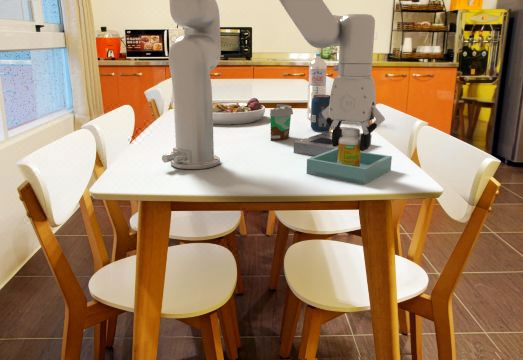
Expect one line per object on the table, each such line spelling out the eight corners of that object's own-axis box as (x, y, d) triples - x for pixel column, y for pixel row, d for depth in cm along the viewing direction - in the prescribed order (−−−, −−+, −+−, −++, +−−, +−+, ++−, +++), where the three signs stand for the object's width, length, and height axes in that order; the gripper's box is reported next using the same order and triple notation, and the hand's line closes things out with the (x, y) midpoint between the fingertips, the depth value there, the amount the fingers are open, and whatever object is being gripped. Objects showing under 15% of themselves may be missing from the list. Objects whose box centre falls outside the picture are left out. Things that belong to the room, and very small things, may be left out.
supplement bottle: (341, 171, 114) (343, 131, 111) (334, 165, 119) (336, 126, 116) (362, 170, 115) (365, 130, 112) (354, 165, 120) (357, 126, 117)
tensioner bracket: (334, 159, 128) (335, 142, 127) (293, 152, 136) (294, 136, 134) (370, 144, 146) (371, 129, 145) (332, 139, 153) (333, 125, 152)
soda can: (321, 127, 172) (322, 93, 169) (334, 130, 167) (336, 95, 163) (306, 129, 168) (307, 95, 165) (319, 133, 163) (320, 97, 159)
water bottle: (327, 118, 191) (330, 53, 183) (319, 121, 185) (322, 54, 178) (312, 117, 194) (314, 53, 187) (304, 119, 189) (306, 53, 181)
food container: (289, 142, 148) (290, 110, 145) (269, 141, 149) (270, 109, 146) (294, 134, 160) (295, 104, 157) (276, 134, 161) (277, 104, 158)
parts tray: (364, 184, 107) (365, 169, 106) (306, 173, 115) (306, 159, 114) (390, 170, 118) (391, 156, 117) (336, 160, 127) (336, 147, 126)
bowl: (206, 129, 170) (205, 107, 168) (177, 117, 195) (176, 97, 193) (279, 122, 184) (279, 101, 181) (243, 111, 209) (243, 93, 207)
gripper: (313, 70, 112) (310, 145, 117) (384, 74, 102) (377, 156, 107) (329, 68, 118) (326, 140, 123) (397, 72, 108) (390, 150, 113)
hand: (350, 147), depth 115 cm, fingers open, 6 cm apart
